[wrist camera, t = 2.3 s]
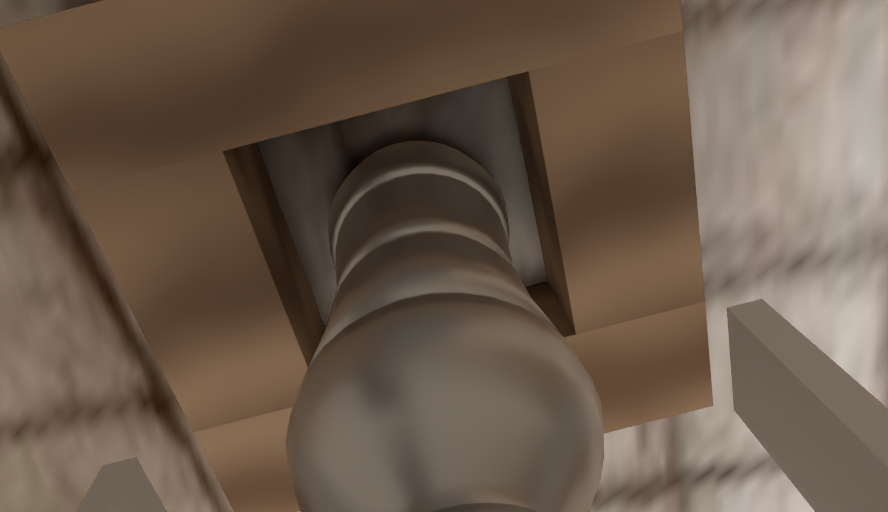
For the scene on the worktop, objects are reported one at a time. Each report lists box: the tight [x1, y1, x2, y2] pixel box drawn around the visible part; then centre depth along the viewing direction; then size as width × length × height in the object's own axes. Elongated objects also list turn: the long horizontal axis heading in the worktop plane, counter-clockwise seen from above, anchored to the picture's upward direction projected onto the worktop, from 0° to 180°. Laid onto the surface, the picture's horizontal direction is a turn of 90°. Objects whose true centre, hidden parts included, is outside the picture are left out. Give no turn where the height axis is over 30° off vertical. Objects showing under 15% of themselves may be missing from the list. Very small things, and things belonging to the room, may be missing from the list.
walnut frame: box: [0, 0, 713, 512], centre depth 25 cm, size 20×20×4 cm
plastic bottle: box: [285, 141, 604, 512], centre depth 18 cm, size 6×7×20 cm
